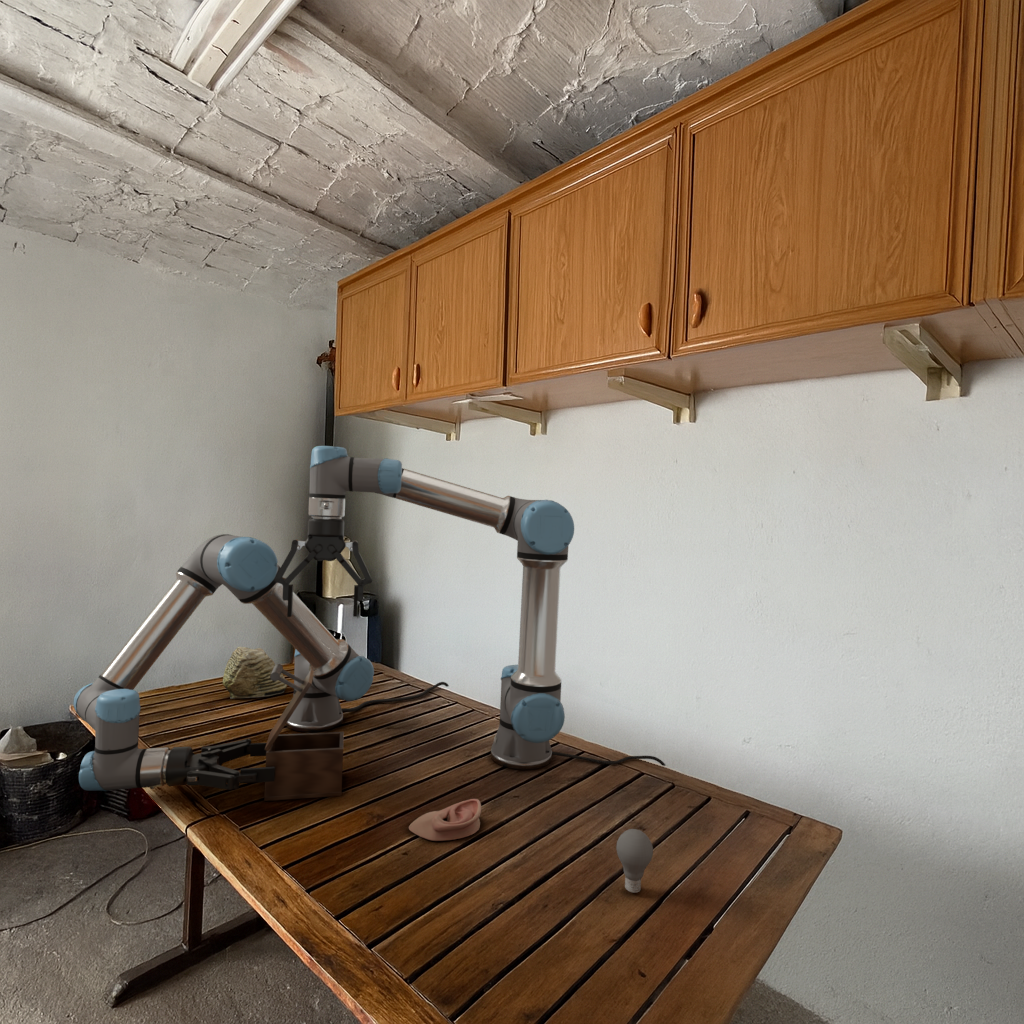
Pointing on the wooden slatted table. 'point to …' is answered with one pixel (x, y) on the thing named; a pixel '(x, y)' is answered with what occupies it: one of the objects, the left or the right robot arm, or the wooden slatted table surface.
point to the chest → (305, 766)
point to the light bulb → (634, 857)
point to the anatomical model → (449, 822)
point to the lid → (293, 703)
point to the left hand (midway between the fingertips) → (278, 760)
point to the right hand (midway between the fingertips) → (322, 615)
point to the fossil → (251, 674)
